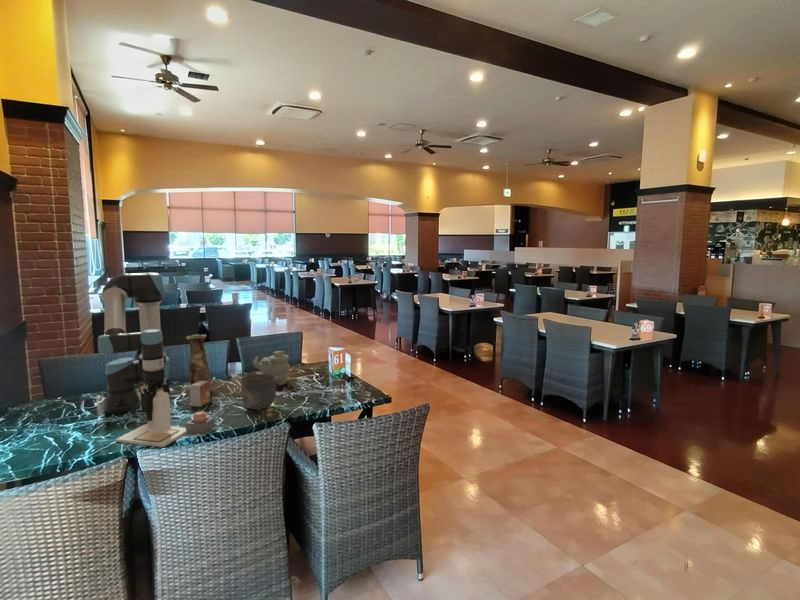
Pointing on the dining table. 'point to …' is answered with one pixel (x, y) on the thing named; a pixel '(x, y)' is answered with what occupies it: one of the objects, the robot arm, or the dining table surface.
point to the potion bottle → (161, 412)
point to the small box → (200, 393)
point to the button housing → (200, 426)
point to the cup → (258, 390)
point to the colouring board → (152, 436)
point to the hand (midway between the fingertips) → (157, 424)
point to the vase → (198, 360)
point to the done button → (199, 417)
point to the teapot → (275, 366)
